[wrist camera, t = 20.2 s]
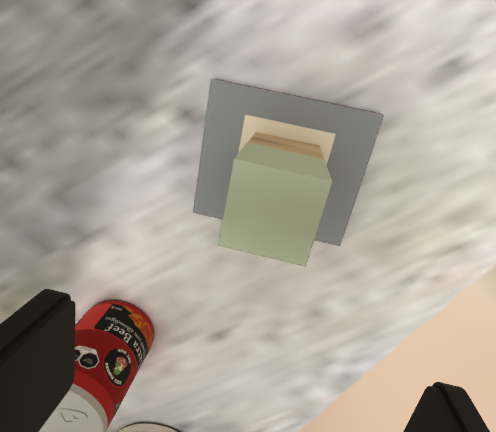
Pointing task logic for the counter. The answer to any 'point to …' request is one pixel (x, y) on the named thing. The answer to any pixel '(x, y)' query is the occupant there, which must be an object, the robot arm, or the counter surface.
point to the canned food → (102, 366)
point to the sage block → (274, 203)
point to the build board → (290, 127)
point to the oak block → (287, 145)
